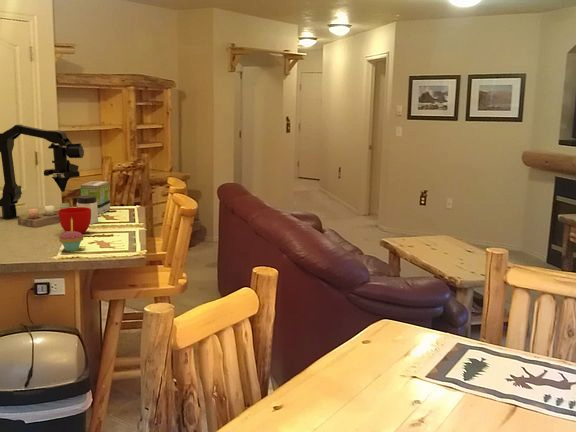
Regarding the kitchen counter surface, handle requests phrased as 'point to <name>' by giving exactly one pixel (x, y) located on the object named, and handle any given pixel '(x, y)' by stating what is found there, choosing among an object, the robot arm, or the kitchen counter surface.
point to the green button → (64, 205)
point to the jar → (89, 206)
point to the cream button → (49, 210)
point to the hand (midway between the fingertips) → (63, 191)
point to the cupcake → (71, 239)
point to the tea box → (98, 194)
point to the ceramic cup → (75, 218)
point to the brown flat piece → (39, 220)
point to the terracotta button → (33, 213)
